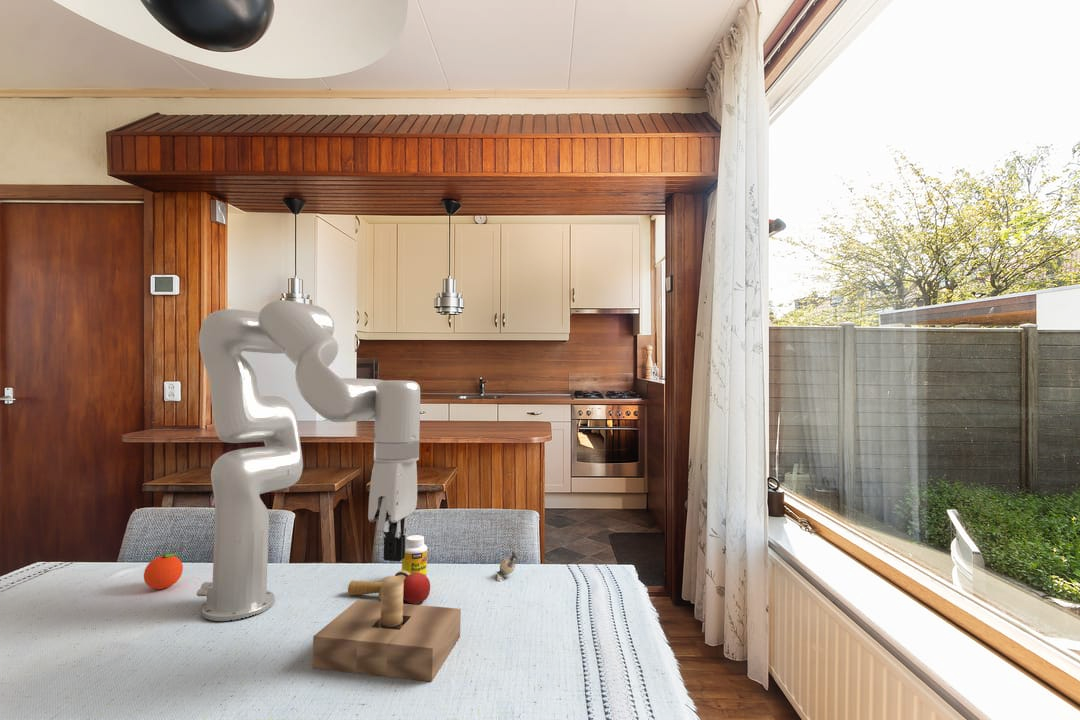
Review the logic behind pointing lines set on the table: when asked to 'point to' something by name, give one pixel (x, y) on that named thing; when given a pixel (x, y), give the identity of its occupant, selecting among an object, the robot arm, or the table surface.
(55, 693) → the table surface
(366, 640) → the seat board
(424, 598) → the kendama
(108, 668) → the table surface
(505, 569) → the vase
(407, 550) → the supplement bottle
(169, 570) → the clementine
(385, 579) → the oak peg
